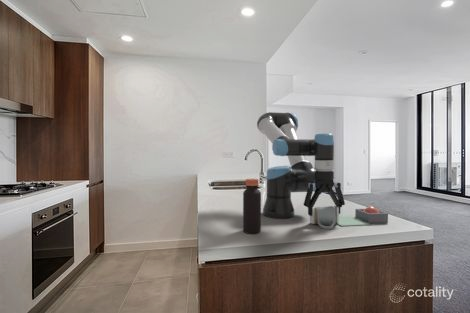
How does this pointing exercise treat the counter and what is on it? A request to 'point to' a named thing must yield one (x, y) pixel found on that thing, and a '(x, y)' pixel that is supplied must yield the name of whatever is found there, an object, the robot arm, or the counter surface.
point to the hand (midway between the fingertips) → (324, 222)
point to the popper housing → (371, 216)
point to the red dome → (371, 210)
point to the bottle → (252, 207)
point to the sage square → (350, 221)
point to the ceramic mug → (325, 216)
